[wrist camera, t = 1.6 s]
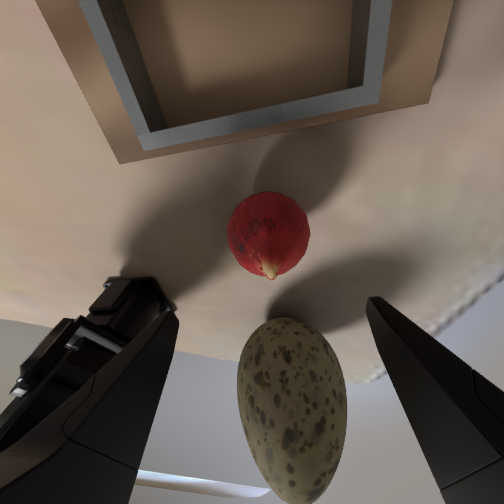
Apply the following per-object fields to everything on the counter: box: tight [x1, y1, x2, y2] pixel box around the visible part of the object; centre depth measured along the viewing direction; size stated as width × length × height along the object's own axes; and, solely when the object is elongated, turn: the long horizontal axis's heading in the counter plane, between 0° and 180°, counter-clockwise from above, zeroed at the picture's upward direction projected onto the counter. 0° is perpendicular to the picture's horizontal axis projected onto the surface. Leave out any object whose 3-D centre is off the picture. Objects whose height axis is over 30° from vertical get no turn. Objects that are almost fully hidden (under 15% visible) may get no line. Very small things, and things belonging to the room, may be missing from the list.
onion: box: [227, 192, 310, 280], centre depth 15 cm, size 6×6×8 cm
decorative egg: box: [237, 317, 347, 504], centre depth 21 cm, size 11×11×15 cm
